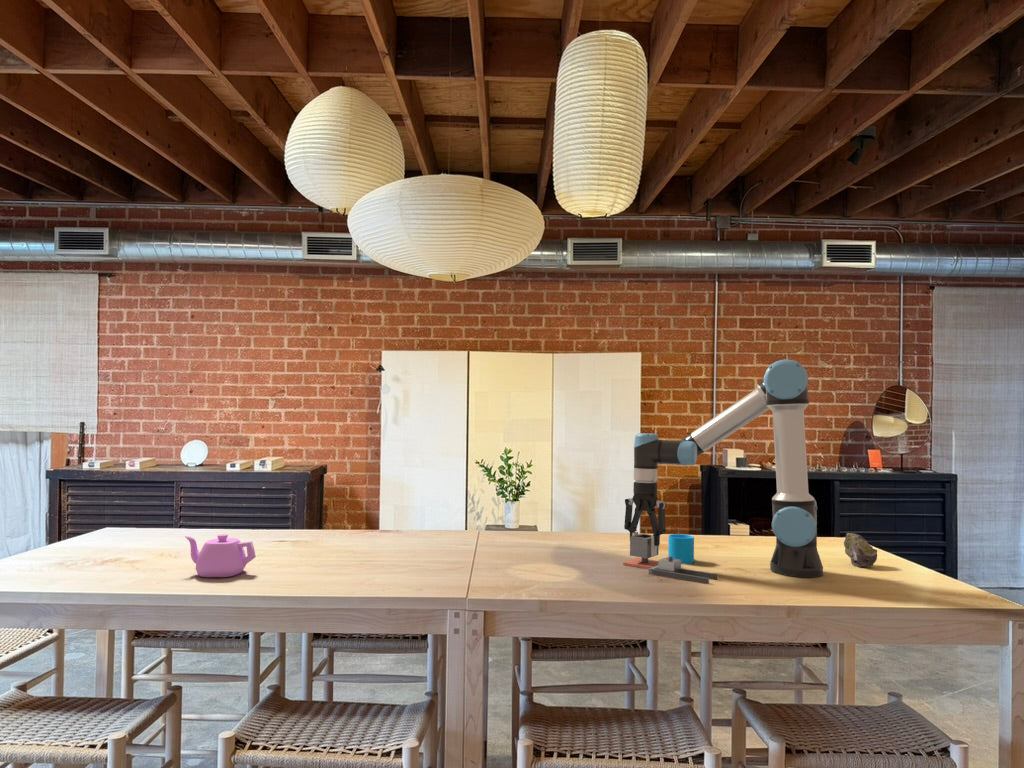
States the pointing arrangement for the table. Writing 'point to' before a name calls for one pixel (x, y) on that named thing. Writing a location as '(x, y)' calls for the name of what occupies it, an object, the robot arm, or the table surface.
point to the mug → (681, 547)
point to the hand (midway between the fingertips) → (644, 554)
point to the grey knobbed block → (670, 564)
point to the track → (685, 575)
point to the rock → (859, 550)
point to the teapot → (221, 556)
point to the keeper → (641, 563)
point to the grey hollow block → (641, 546)
